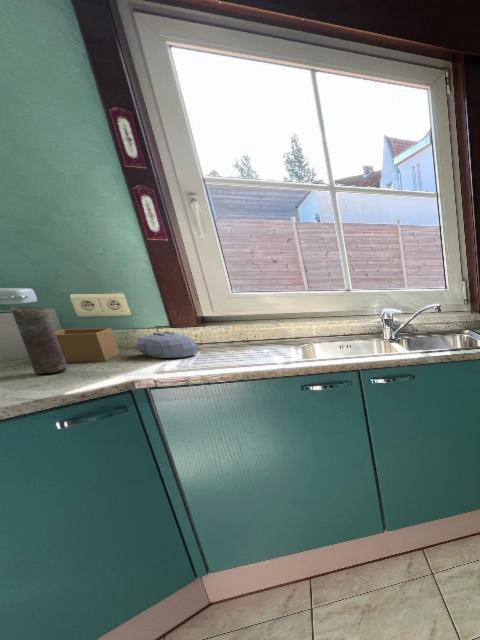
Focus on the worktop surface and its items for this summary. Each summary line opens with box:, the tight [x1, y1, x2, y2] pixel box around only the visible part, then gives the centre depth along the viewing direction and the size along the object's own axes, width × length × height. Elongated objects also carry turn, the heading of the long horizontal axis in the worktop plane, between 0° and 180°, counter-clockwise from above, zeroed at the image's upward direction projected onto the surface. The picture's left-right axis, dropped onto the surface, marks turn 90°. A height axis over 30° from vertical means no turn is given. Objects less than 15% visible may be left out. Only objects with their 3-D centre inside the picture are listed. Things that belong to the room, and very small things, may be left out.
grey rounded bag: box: [136, 331, 198, 359], centre depth 181 cm, size 15×8×20 cm
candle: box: [10, 306, 69, 375], centre depth 151 cm, size 8×7×20 cm
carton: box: [54, 327, 121, 364], centre depth 173 cm, size 13×13×10 cm
